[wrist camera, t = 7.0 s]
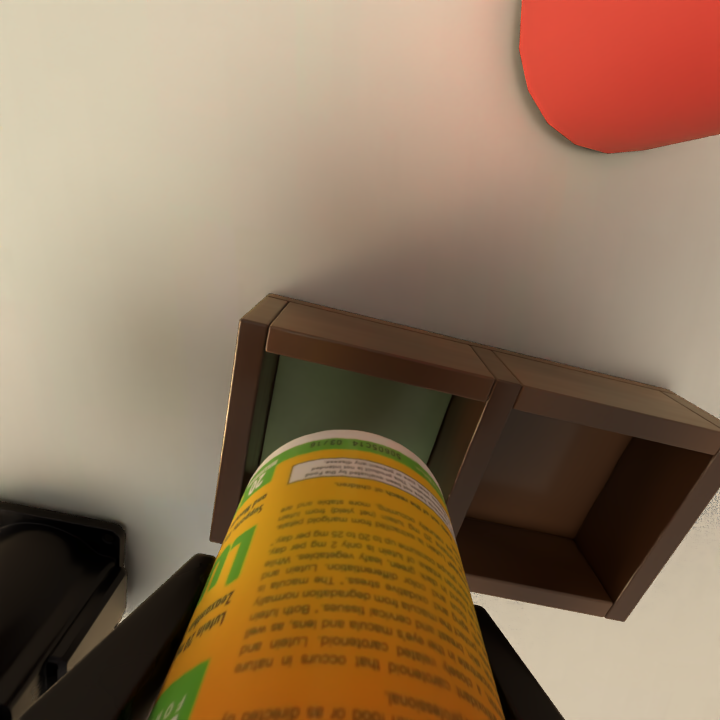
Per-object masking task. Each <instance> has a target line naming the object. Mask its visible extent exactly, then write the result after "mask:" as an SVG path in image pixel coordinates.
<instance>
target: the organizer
mask: <svg viewBox="0 0 720 720" xmlns="http://www.w3.org/2000/svg"><path fill="white" fill-rule="evenodd" d="M327 430H357V431H364V432H369V433H372V434H376V435H380V436H382V437H385V438H388V439H391V440H393V441H395V442H397V443H399V444H401V445H402V446H404V447H405V448H407V449H408V450H410V451H411V452H412V453H414V454H415V455H416V456H417V457H418V458H419V459H421V460H422V461H423V463H424V464H425V465H426V466H427V467H428V468H429V470H430V471H431V473H432V474H433V476H434V477H435V479H436V481H437V482H438V485H439V487H440V489H441V492H442V494H443V497H444V501H445V504H446V506H447V510H448V513H449V517H450V521H451V524H452V528H453V532H454V535H455V539H456V543H457V547H458V550H459V554H460V558H461V562H462V565H463V569H464V573H465V576H466V580H467V583H468V587H469V591H470V592H475V593H480V594H485V595H490V596H496V597H501V598H506V599H511V600H516V601H522V602H527V603H532V604H537V605H542V606H547V607H553V608H558V609H563V610H568V611H573V612H578V613H584V614H589V615H594V616H599V617H605V618H607V619H612V620H617V621H622V622H624V621H625V620H626V619H627V618H628V616H629V615H630V613H631V612H632V610H633V609H634V608H635V606H636V605H637V603H638V602H639V601H640V599H641V598H642V596H643V595H644V594H645V592H646V591H647V589H648V588H649V587H650V585H651V584H652V582H653V581H654V579H655V578H656V577H657V575H658V574H659V572H660V571H661V570H662V568H663V567H664V565H665V564H666V563H667V561H668V560H669V558H670V557H671V556H672V554H673V553H674V551H675V550H676V548H677V547H678V546H679V544H680V543H681V541H682V540H683V539H684V537H685V536H686V534H687V533H688V532H689V530H690V529H691V527H692V526H693V525H694V523H695V522H696V520H697V519H698V517H699V516H700V515H701V513H702V512H703V510H704V509H705V508H706V506H707V505H708V503H709V502H710V501H711V499H712V498H713V496H714V495H715V493H716V492H717V491H718V489H719V488H720V420H719V419H718V418H716V417H714V416H712V415H711V414H709V413H707V412H706V411H704V410H702V409H701V408H699V407H697V406H696V405H694V404H692V403H691V402H689V401H687V400H685V399H684V398H682V397H680V396H679V395H677V394H675V393H674V392H672V391H670V390H668V389H664V388H660V387H656V386H651V385H647V384H643V383H639V382H635V381H631V380H627V379H622V378H618V377H614V376H610V375H606V374H602V373H598V372H594V371H589V370H585V369H581V368H577V367H573V366H569V365H565V364H560V363H556V362H552V361H548V360H544V359H540V358H536V357H532V356H527V355H523V354H519V353H515V352H511V351H507V350H503V349H499V348H494V347H490V346H486V345H482V344H478V343H474V342H470V341H465V340H461V339H457V338H453V337H449V336H445V335H441V334H437V333H432V332H428V331H424V330H420V329H416V328H412V327H408V326H404V325H399V324H395V323H391V322H387V321H383V320H379V319H375V318H370V317H366V316H362V315H358V314H354V313H350V312H346V311H342V310H337V309H333V308H329V307H325V306H321V305H317V304H313V303H309V302H304V301H300V300H296V299H292V298H288V297H284V296H280V295H275V294H271V293H269V294H268V295H267V296H266V297H265V298H264V299H263V300H261V301H260V302H259V303H258V304H257V305H256V306H255V307H253V308H252V309H251V310H250V311H249V312H248V313H246V314H245V315H244V316H243V317H242V318H241V319H240V320H239V327H238V335H237V342H236V349H235V357H234V364H233V371H232V378H231V386H230V393H229V400H228V408H227V415H226V422H225V429H224V437H223V444H222V451H221V459H220V466H219V473H218V480H217V488H216V495H215V502H214V509H213V517H212V524H211V531H210V541H211V542H215V543H220V544H222V543H223V541H224V539H225V537H226V534H227V532H228V530H229V527H230V525H231V523H232V520H233V518H234V515H235V513H236V510H237V508H238V506H239V503H240V501H241V498H242V496H243V494H244V492H245V490H246V488H247V486H248V483H249V481H250V480H251V478H252V476H253V474H254V473H255V472H256V470H257V469H258V467H259V466H260V465H261V464H262V463H263V461H264V460H265V459H266V458H267V457H268V456H270V455H271V454H272V453H273V452H274V451H276V450H277V449H278V448H280V447H281V446H283V445H285V444H286V443H288V442H290V441H292V440H294V439H297V438H299V437H302V436H305V435H309V434H313V433H316V432H321V431H327Z"/></svg>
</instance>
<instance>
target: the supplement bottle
mask: <svg viewBox="0 0 720 720" xmlns="http://www.w3.org/2000/svg"><path fill="white" fill-rule="evenodd" d="M148 720H505V718H504V714H503V710H502V707H501V703H500V700H499V696H498V692H497V689H496V685H495V682H494V678H493V674H492V671H491V667H490V664H489V660H488V656H487V653H486V649H485V646H484V642H483V638H482V635H481V631H480V627H479V624H478V620H477V616H476V612H475V609H474V605H473V601H472V598H471V594H470V591H469V587H468V583H467V580H466V576H465V573H464V569H463V565H462V562H461V558H460V554H459V550H458V547H457V543H456V539H455V535H454V532H453V528H452V524H451V521H450V517H449V513H448V510H447V506H446V504H445V501H444V497H443V494H442V492H441V489H440V487H439V485H438V482H437V481H436V479H435V477H434V476H433V474H432V473H431V471H430V470H429V468H428V467H427V466H426V465H425V464H424V463H423V461H422V460H421V459H419V458H418V457H417V456H416V455H415V454H414V453H412V452H411V451H410V450H408V449H407V448H405V447H404V446H402V445H401V444H399V443H397V442H395V441H393V440H391V439H388V438H385V437H382V436H380V435H376V434H372V433H369V432H364V431H357V430H327V431H321V432H316V433H313V434H309V435H305V436H302V437H299V438H297V439H294V440H292V441H290V442H288V443H286V444H285V445H283V446H281V447H280V448H278V449H277V450H276V451H274V452H273V453H272V454H271V455H270V456H268V457H267V458H266V459H265V460H264V461H263V463H262V464H261V465H260V466H259V467H258V469H257V470H256V472H255V473H254V474H253V476H252V478H251V480H250V481H249V483H248V486H247V488H246V490H245V492H244V494H243V496H242V498H241V501H240V503H239V506H238V508H237V510H236V513H235V515H234V518H233V520H232V523H231V525H230V527H229V530H228V532H227V534H226V537H225V539H224V541H223V543H222V546H221V549H220V551H219V553H218V555H217V558H216V560H215V562H214V565H213V567H212V570H211V572H210V575H209V577H208V580H207V582H206V584H205V587H204V589H203V591H202V594H201V596H200V598H199V601H198V603H197V605H196V608H195V610H194V613H193V615H192V617H191V620H190V622H189V624H188V627H187V629H186V631H185V634H184V636H183V638H182V641H181V643H180V645H179V648H178V650H177V652H176V655H175V657H174V659H173V662H172V664H171V666H170V668H169V671H168V673H167V676H166V678H165V680H164V683H163V685H162V687H161V690H160V692H159V695H158V697H157V699H156V702H155V704H154V706H153V709H152V711H151V714H150V716H149V718H148Z"/></svg>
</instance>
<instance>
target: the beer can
mask: <svg viewBox="0 0 720 720" xmlns="http://www.w3.org/2000/svg"><path fill="white" fill-rule="evenodd" d="M519 51H520V56H521V60H522V65H523V69H524V74H525V78H526V83H527V87H528V91H529V93H530V95H531V96H532V98H533V100H534V101H535V103H536V105H537V106H538V108H539V110H540V111H541V113H542V115H543V116H544V118H545V120H546V121H547V123H548V124H549V125H551V126H552V127H553V128H554V129H556V130H557V131H558V132H560V133H561V134H562V135H563V136H565V137H566V138H567V139H569V140H570V141H571V142H572V143H574V144H575V145H579V146H583V147H586V148H590V149H593V150H597V151H600V152H604V153H607V154H608V153H619V152H630V151H642V150H648V149H652V148H657V147H662V146H666V145H671V144H676V143H680V142H685V141H690V140H694V139H699V138H704V137H708V136H713V135H718V134H720V0H522V7H521V25H520V43H519Z"/></svg>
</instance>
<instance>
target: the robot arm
mask: <svg viewBox="0 0 720 720" xmlns="http://www.w3.org/2000/svg"><path fill="white" fill-rule="evenodd" d="M124 555H125V531H124V529H123V528H122V527H121V526H120V525H118V524H115V523H111V522H105V521H100V520H95V519H90V518H85V517H79V516H74V515H69V514H64V513H59V512H54V511H48V510H43V509H38V508H33V507H28V506H23V505H17V504H12V503H7V502H2V501H0V720H148V718H149V716H150V714H151V711H152V709H153V706H154V704H155V702H156V699H157V697H158V695H159V692H160V690H161V687H162V685H163V683H164V680H165V678H166V676H167V673H168V671H169V668H170V666H171V664H172V662H173V659H174V657H175V655H176V652H177V650H178V648H179V645H180V643H181V641H182V638H183V636H184V634H185V631H186V629H187V627H188V624H189V622H190V620H191V617H192V615H193V613H194V610H195V608H196V605H197V603H198V601H199V598H200V596H201V594H202V591H203V589H204V587H205V584H206V582H207V580H208V577H209V575H210V572H211V570H212V567H213V565H214V562H215V560H216V558H215V557H214V556H211V555H206V554H201V553H198V554H196V555H194V556H193V557H192V558H191V559H190V560H189V561H187V562H186V563H185V564H184V565H183V566H182V567H181V568H180V569H179V570H178V571H177V572H175V573H174V574H173V575H172V576H171V577H170V578H169V579H168V580H167V581H166V582H165V583H164V584H162V585H161V586H160V587H159V588H158V589H157V590H156V591H155V592H154V593H153V594H152V595H150V596H149V597H148V598H147V599H146V600H145V601H144V602H143V603H142V604H141V605H140V606H138V607H137V608H136V609H135V610H134V611H133V612H132V613H131V614H130V615H129V616H128V617H127V618H125V619H124V620H123V621H122V622H121V623H120V624H119V622H120V621H121V619H122V614H123V612H124V611H125V609H126V592H127V572H126V569H125V567H124ZM473 605H474V604H473ZM474 609H475V612H476V616H477V620H478V624H479V627H480V631H481V635H482V638H483V642H484V646H485V649H486V653H487V656H488V660H489V664H490V667H491V671H492V674H493V678H494V682H495V685H496V689H497V692H498V696H499V700H500V703H501V707H502V710H503V714H504V718H505V720H565V719H564V718H563V716H562V715H561V714H560V712H559V711H558V709H557V708H556V707H555V705H554V704H553V703H552V701H551V700H550V698H549V697H548V696H547V694H546V693H545V692H544V690H543V689H542V687H541V686H540V685H539V683H538V682H537V680H536V679H535V678H534V676H533V675H532V674H531V672H530V671H529V669H528V668H527V667H526V665H525V664H524V663H523V661H522V660H521V658H520V657H519V656H518V654H517V653H516V651H515V650H514V649H513V647H512V646H511V645H510V643H509V642H508V640H507V639H506V638H505V636H504V635H503V633H502V632H501V631H500V629H499V628H498V627H497V625H496V624H495V622H494V621H493V620H492V618H491V617H490V616H489V614H488V613H487V611H486V610H485V609H484V608H483V607H481V606H479V605H474ZM118 624H119V625H118Z"/></svg>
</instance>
